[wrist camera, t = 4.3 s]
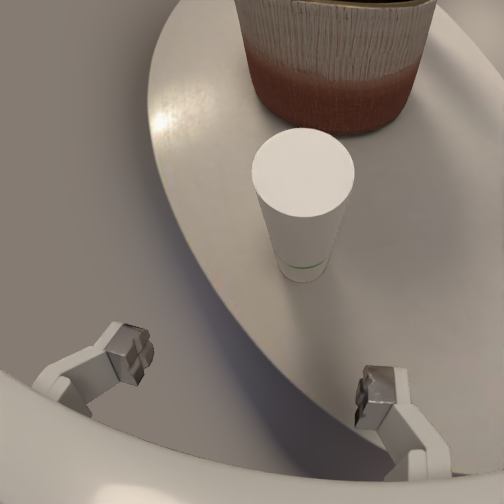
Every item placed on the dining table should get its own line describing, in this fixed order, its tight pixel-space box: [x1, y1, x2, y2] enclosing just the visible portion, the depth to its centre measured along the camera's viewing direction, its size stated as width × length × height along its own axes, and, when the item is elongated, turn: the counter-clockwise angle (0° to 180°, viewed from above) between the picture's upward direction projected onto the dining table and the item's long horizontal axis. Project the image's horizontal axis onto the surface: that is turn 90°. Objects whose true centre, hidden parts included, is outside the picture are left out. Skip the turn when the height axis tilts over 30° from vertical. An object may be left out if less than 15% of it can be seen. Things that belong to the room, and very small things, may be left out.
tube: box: [252, 128, 355, 283], centre depth 20 cm, size 4×4×15 cm
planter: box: [235, 0, 437, 134], centre depth 24 cm, size 18×18×16 cm
